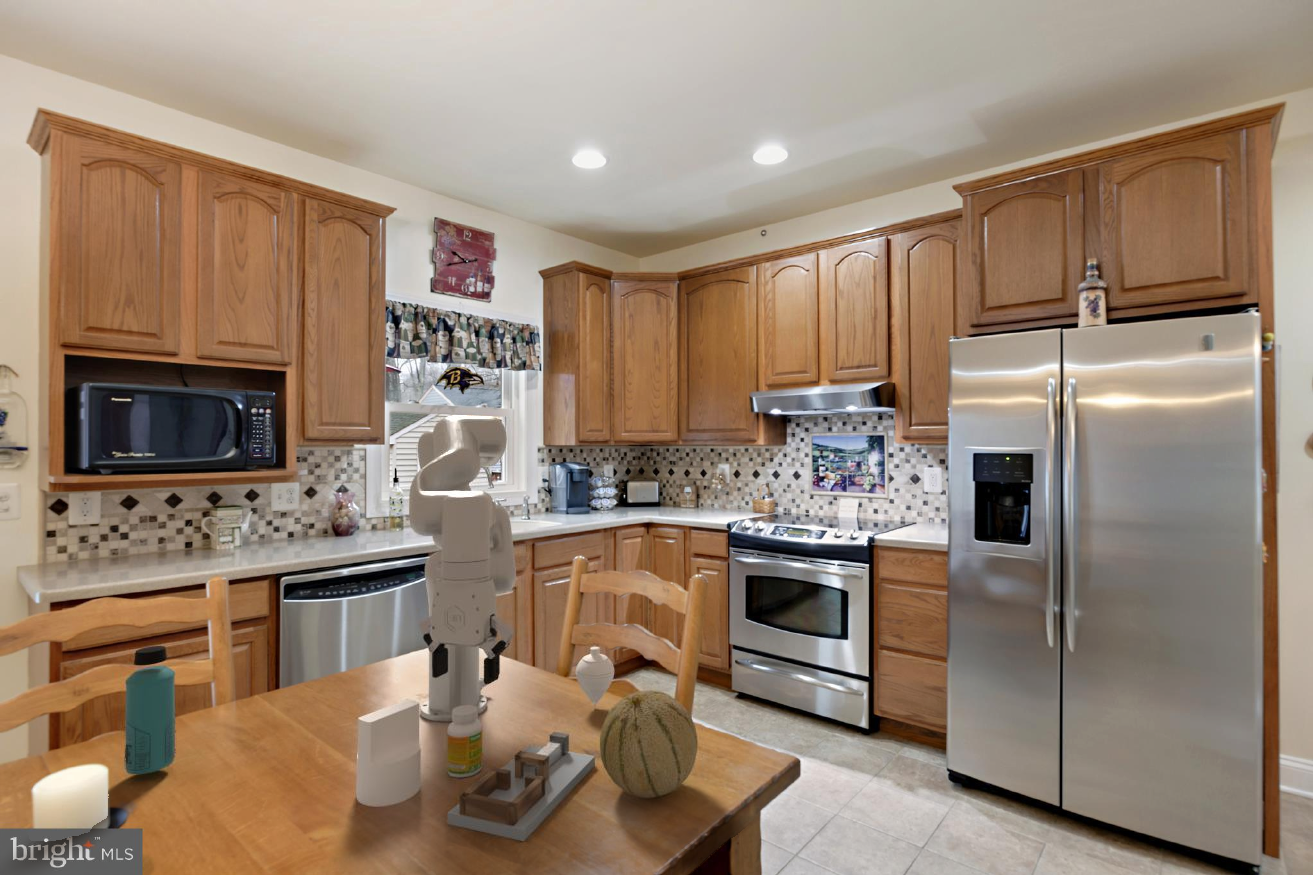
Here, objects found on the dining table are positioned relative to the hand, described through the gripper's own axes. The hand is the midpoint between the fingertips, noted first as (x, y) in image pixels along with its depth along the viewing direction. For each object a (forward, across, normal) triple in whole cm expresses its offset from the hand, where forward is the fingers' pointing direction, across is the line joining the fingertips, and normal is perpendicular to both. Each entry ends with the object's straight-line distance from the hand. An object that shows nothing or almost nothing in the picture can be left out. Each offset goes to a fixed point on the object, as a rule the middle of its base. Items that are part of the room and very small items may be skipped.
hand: (465, 678), depth 105 cm
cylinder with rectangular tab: (+15, -8, -8) cm, 19 cm away
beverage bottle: (+15, -47, -17) cm, 52 cm away
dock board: (+15, +12, -2) cm, 20 cm away
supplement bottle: (+15, -1, +1) cm, 15 cm away
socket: (+14, +12, -8) cm, 20 cm away
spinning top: (+15, +8, +31) cm, 35 cm away
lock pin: (+13, +12, +4) cm, 19 cm away
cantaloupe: (+15, +29, +5) cm, 34 cm away
